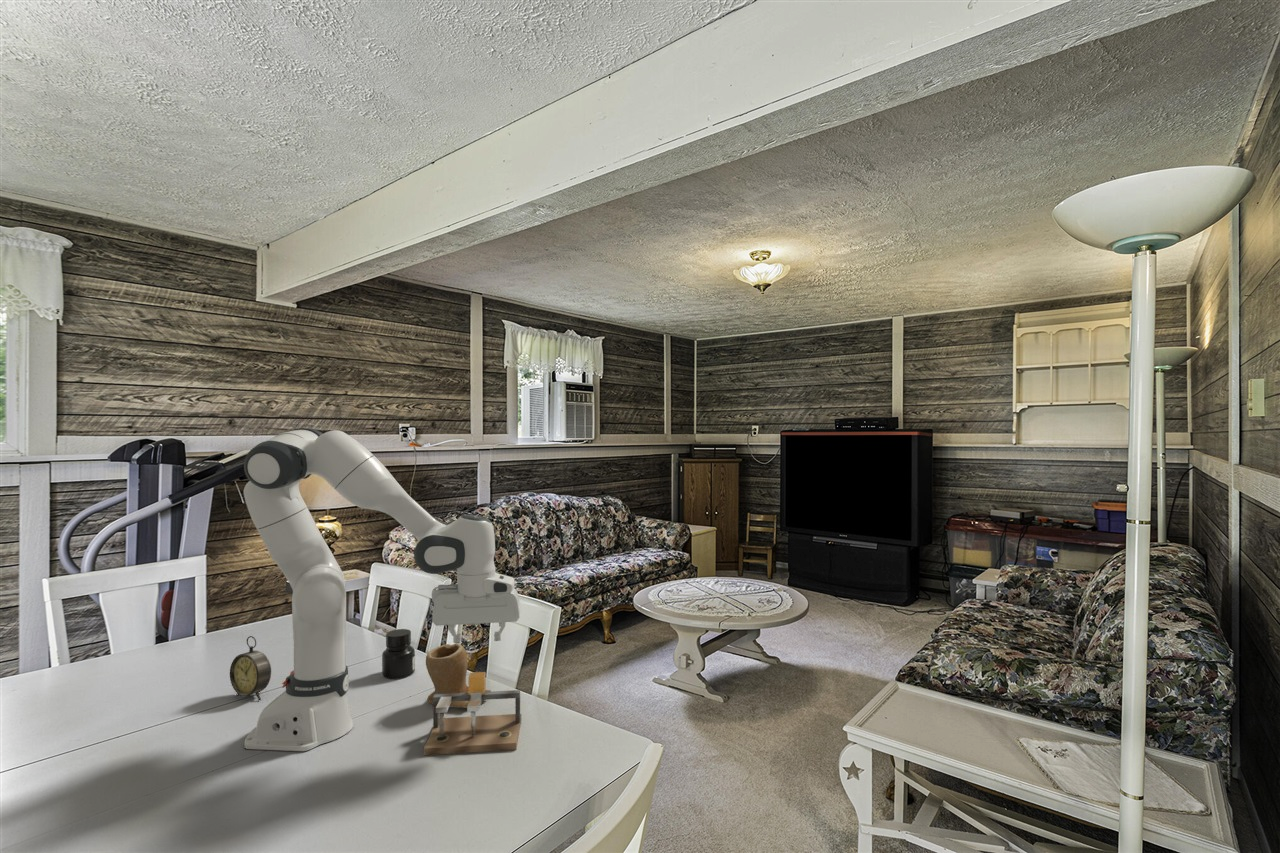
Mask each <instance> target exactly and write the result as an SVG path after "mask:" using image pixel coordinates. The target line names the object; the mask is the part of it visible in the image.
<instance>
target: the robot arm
mask: <svg viewBox="0 0 1280 853" xmlns="http://www.w3.org/2000/svg"><path fill="white" fill-rule="evenodd" d="M243 470H244V473H245V476H246V478H247V479H248V480H249V481H248V482H247V483H246V484H245V486H244V488H243V498H244V501H245V504H246V508H247V510H248V513H249V515H250V516H249V517H250V518H251V520H252V522H253V524H254V526H255V529H256V531H257V532H258V535H259V536H260V538H261V540H262V542H263V544H264V545H265V547H266V549H267V551H268V553H269V555H270V557H271V559H272V560H273V562H275V564H276V565H277V567H278V568H279V570H280V572H282V574H283V576H284V577H285V579H286V580H287V581H288V583H289V585H290V588H291V589H292V594H291V609H292V610H291V612H292V613H291V615H292V636H293V637H292V638H293V640H292V641H293V670H292V671H291V672H290V673H289V675H288V676H286V678H285V680H283V682H282V683H281V685H282V687H281V688H282V689H284V688H285V690H284V691H283V692H282V693H280V695H278V696H277V697H276V698H274V699H273V700H272V701H271V702H269V703H268V704H267V705H266V706H265V707H264V708H263V710H261V713H260V714H259V716H258V719H257V722H256V727H254V728H253V729H252V730H251V731H250V732H249V733H248V734H247V736H246V737H245V739H244V744H243V747H244V749H245V748H246V750H267V751H286V752H287V751H288V752H289V751H290V752H292V751H293V752H306V751H310V750H312V749H314V748H316V747H317V746H319V745H322V744H326V743H329V742H332V741H335V740H337V739H339V738H341V737H343V736H344V735H346V734H348V733H349V732H350V731H351V730H352V729H353V728H354V725H355V722H354V719H353V716H352V714H351V709H350V708H351V707H350V704H349V697H348V691H349V684H350V683H349V681H350V679H349V678H350V677H349V676H350V675H349V668H348V665H347V635H346V634H347V589H346V579H345V575H344V571H342V568H341V567H340V565H339V563H338V562H337V560H336V558H335V556H334V553H332V551H331V549H330V548H329V545H328V544H327V542H326V540H325V539H324V537H323V536H322V533H321V531H320V530H319V527H318V526H317V523H316V522H315V520H314V518H313V515H312V514H311V512H310V510H309V508H308V506H307V504H306V502H305V501H304V499H303V496H302V494H301V491H300V483H301V481H302V480H303V479H304V480H306V479H308V478H309V477H311V475H317V476H318V477H321V478H322V479H324V480H325V481H326V482H327V483H328V484H329V485H330V486H331V487H332V488H333V489H334V490H335V491H336V492H338V494H339V495H340V496H342V497H343V498H345V499H346V500H347V501H348V502H349V503H351V504H353V505H354V506H357V507H358V508H359V509H364V510H373V511H378V512H381V513H384V514H387V515H388V516H390V517H392V518H393V519H395V521H397V523H399V524H400V525H401V526H402V527H403V528H404V529H406V530H407V531H408V532H409V533H410V534H412V536H413V537H415V539H416V540H417V543H416V545H415V548H414V550H413V559H414V562H415V564H416V566H417V567H418V568H419V569H420V570H421V572H424V573H427V574H430V575H431V574H432V575H436V574H443V573H446V572H450V571H454V570H456V575H457V576H456V577H457V578H456V579H457V581H456V582H457V583H451V584H438V586H436V587H434V588H433V589H432V591H431V601H432V603H433V608H432V617H431V620H432V623H433V625H435V626H437V627H438V626H439V627H440V626H448V629H447V630H448V631H449V633H450V634H451V636H452V637H453V639H452V640H453V641H452V642H453V644H460V643H461V642H462V638H461V637H462V633H458V632H457V630H456V629H455V628H456V626H457V625H458V626H459V625H475V624H477V625H478V624H480V625H481V624H494V623H495V624H497V623H498V627H499V630H498V631H494V635H493V637H494V639H493V640H494V642H500V641H502V633H503V631H504V629H505V627H506V624H507V623H516V622H518V621H519V620H520V618H521V614H522V613H521V611H522V610H521V601H520V597H519V596H520V595H519V593H518V591H517V589H516V588H515V584H516V583H515V578H514V577H512V576H509V575H505V574H501V573H497V572H496V565H495V561H494V559H495V553H496V541H495V540H496V538H495V537H496V536H495V530H494V525H493V523H492V521H491V520H490V519H489V518H487V516H486V517H485V516H482V515H480V514H479V515H478V514H463V515H460V516H459V517H458V518H457V519H455V520H453V522H450V523H448V522H445V521H441V520H439V519H438V518H435V517H434V516H433V515H432V514H431V513H430V512H428V510H426V509H425V508H424V507H423V506H422V505H421V504H419V503H418V501H416V500H415V499H414V498H413V497H411V495H409V494H408V493H407V491H406V490H405V489H404V488H403V486H401V484H399V482H398V481H397V480H396V479H395V477H394V476H393V474H391V472H390V470H389V469H388V468H387V467H386V466H385V465H384V464H383V463H382V462H381V461H380V460H379V459H378V458H377V457H376V456H375V455H374V453H372V452H371V451H369V449H367V448H366V447H365V446H364V445H363V444H361V443H360V442H359V441H358V440H356V439H355V438H354V437H352V436H350V434H347V433H346V432H345V431H343V430H337V429H336V430H334V429H333V430H330V431H325V432H324V433H322V432H321V431H319V430H317V429H314V428H309V427H302V428H296V429H293V430H291V431H285V432H282V433H279V434H277V435H275V436H273V437H271V438H269V439H267V440H265V441H262V442H260V443H258V444H256V445H255V446H253V447H252V448H251V449H250V450H249V452H248V453H247V454H246V455H245V457H244V460H243Z"/></svg>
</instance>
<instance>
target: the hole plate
mask: <svg viewBox="0 0 1280 853" xmlns="http://www.w3.org/2000/svg"><path fill="white" fill-rule="evenodd" d="M470 698H471V695H469V693H453V694H435V695H434V697H433V704H432V715H433V716H432V718H433V719H432V720H433V721H432V722H433V723H432V725H433V728H432V730H431V732H430V734H429V736H428V739H427V741H426V744H424V748H423V756H434V755H435V756H436V755H449V754H450V755H451V754H464V753H465V754H467V753H482V752H483V753H484V752H498V751H512V750H513V751H515V750H517V749H518V743H519V742H518V741H519V737H520V731H519V730H521V725H522V713H521V690H520V689H515V690H498V691H497V690H495V691H492V690H491V692H484V694H482V700H485V701H487V700H505V699H506V700H507V699H515V707H514V708H515V713H512V714H511V713H510V714H495V715H494V714H493V715H476V734H475V735H473V736H472V735H471V716H457V717H445V714H447V713H448V710H449V708H450V704H451V702H452V701H470ZM520 724H521V725H520ZM518 736H519V737H518Z"/></svg>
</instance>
